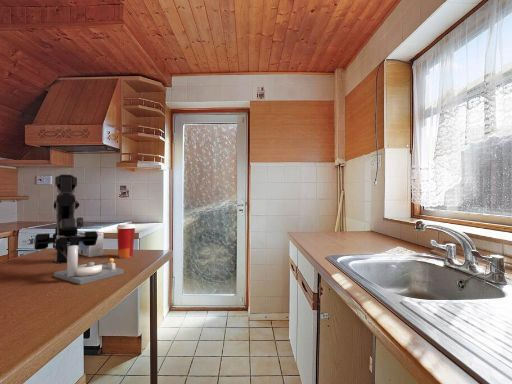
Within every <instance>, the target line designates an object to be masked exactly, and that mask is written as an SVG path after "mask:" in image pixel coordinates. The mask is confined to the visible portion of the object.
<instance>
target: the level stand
mask: <svg viewBox="0 0 512 384" xmlns="http://www.w3.org/2000/svg"><path fill="white" fill-rule="evenodd" d="M108 261H109V263H106V264H101V265H102V272H101V273H98V274H95V275H89V276H73V277H68V276H67V269H65V270H59V271H54V272H53V277H55V278H58V279H61V280H64V281H67V282H70V283H73V284H77V285H83V284H88V283H91V282H96V281H100V280H103V279H108V278H111V277H115V276H118V275H122V274H124V272H125V271H124V268H120V267H119V268H118V267H116V263H115V259H114V258H112V257H111V258H109V259H108Z"/></svg>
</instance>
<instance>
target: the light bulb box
mask: <svg viewBox="0 0 512 384" xmlns="http://www.w3.org/2000/svg"><path fill="white" fill-rule="evenodd" d="M88 231H89V230H82V231H79V235H84V234H85V232H88ZM91 231H94V230H92V229H91ZM95 231H96V232H97V233H98V238H97V241H96V245H93V246H85V245H84V244H83V241H80V242H79V246H78V255H82V256H84V257H88V258H93V257H99V256H103V255H104V232H101V231H97V230H95Z"/></svg>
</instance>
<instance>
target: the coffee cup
mask: <svg viewBox="0 0 512 384" xmlns="http://www.w3.org/2000/svg"><path fill="white" fill-rule="evenodd" d="M136 228H137V227H136V225H135V223H118V224H117V226H116V229H117V232H116V233H117V251H118V252H117V254H118V259H129V258H132V257H133V256H134V246H135V245H134V243H135V235H136V234H135V232H136Z"/></svg>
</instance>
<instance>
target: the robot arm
mask: <svg viewBox="0 0 512 384" xmlns="http://www.w3.org/2000/svg"><path fill="white" fill-rule="evenodd" d="M54 187H56V193H58V194H56V199H55V200H54V201H53V210H54V211H56V215H55V216H56V226H55V230H54V231H55V232H54V233H53V234H52V236H51V237H50V235H51V234H50V233H36V234H35V236H34V247H33V248H34V250H39V251H40V250H46V249H48V248H49V245H50V244H52V249H54V250H55V251H56V259H53V260H52V262H54V263H58V264H64V263H67V253H68V246H71V245H78V247H79V242H80V241H83V244H84V245H85V246H93V245H96V241H97V238H98V233H97V232H96V231H97V230H93V231H92V230H87V231H88V232H85V234H84V235H78V228H83V226H84V217H77V218H75V212H76V210H78V208H79V207H80V203H79V201H78V200H76V194H74V193H75V191H76V188H77V187H78V177H76V176H74V175H73V174H63V173H62V174H59V175H58V176H55V177H54Z"/></svg>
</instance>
